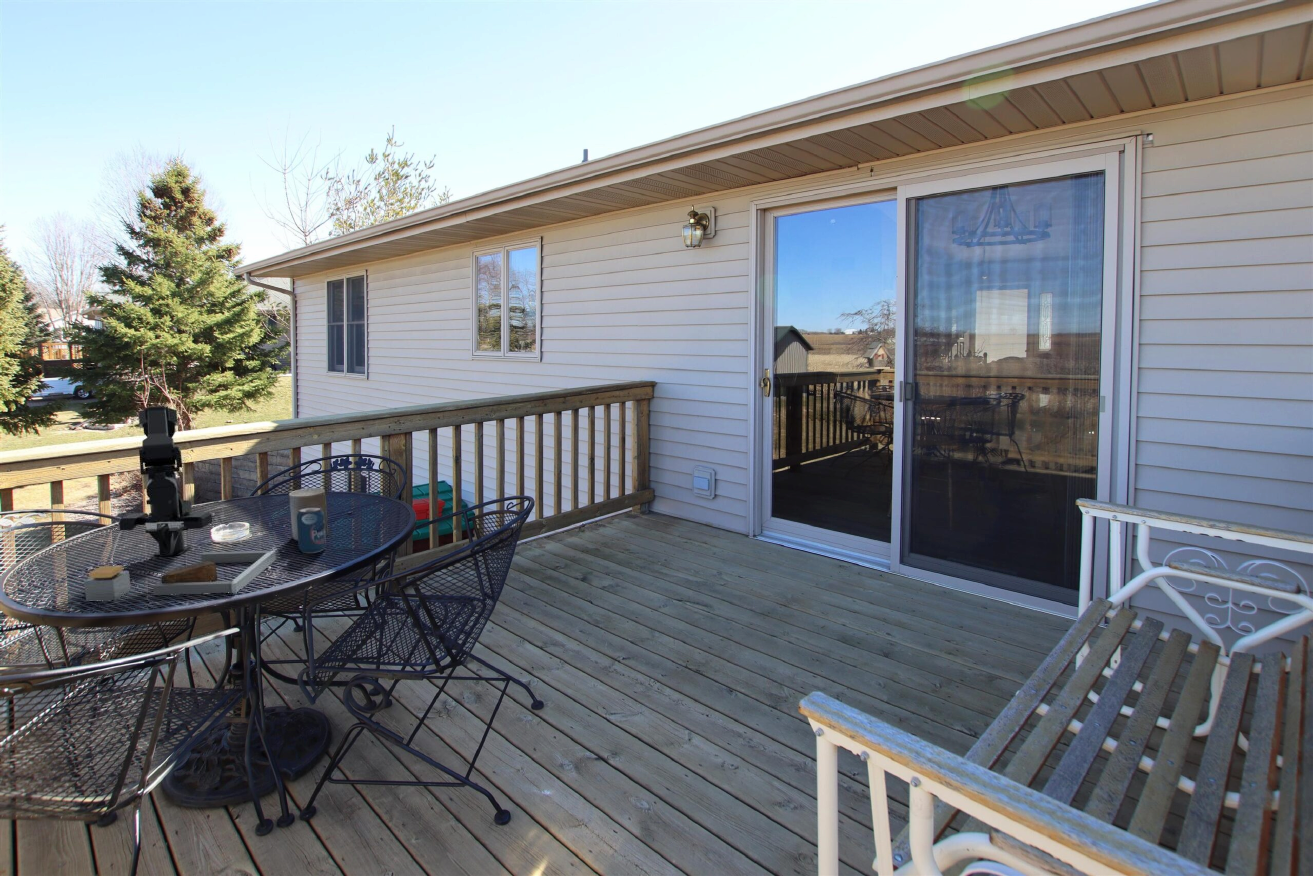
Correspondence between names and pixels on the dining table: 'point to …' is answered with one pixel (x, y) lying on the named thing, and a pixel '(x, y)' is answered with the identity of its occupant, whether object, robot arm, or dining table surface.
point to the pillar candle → (306, 505)
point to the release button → (105, 572)
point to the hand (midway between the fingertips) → (169, 554)
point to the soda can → (311, 529)
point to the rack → (261, 563)
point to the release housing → (107, 587)
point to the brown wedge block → (192, 573)
